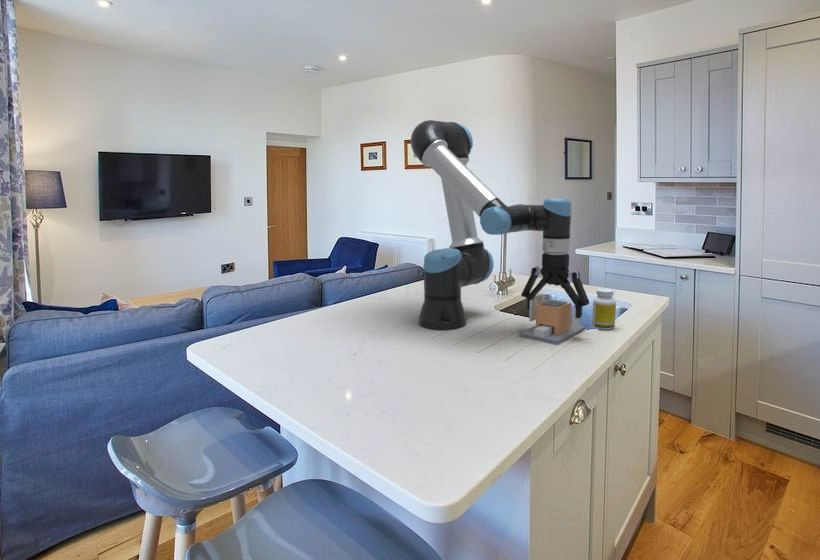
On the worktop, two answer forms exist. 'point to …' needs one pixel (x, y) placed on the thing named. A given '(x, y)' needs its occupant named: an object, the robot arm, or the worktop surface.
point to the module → (554, 315)
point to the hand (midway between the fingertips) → (553, 324)
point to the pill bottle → (604, 310)
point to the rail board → (550, 334)
